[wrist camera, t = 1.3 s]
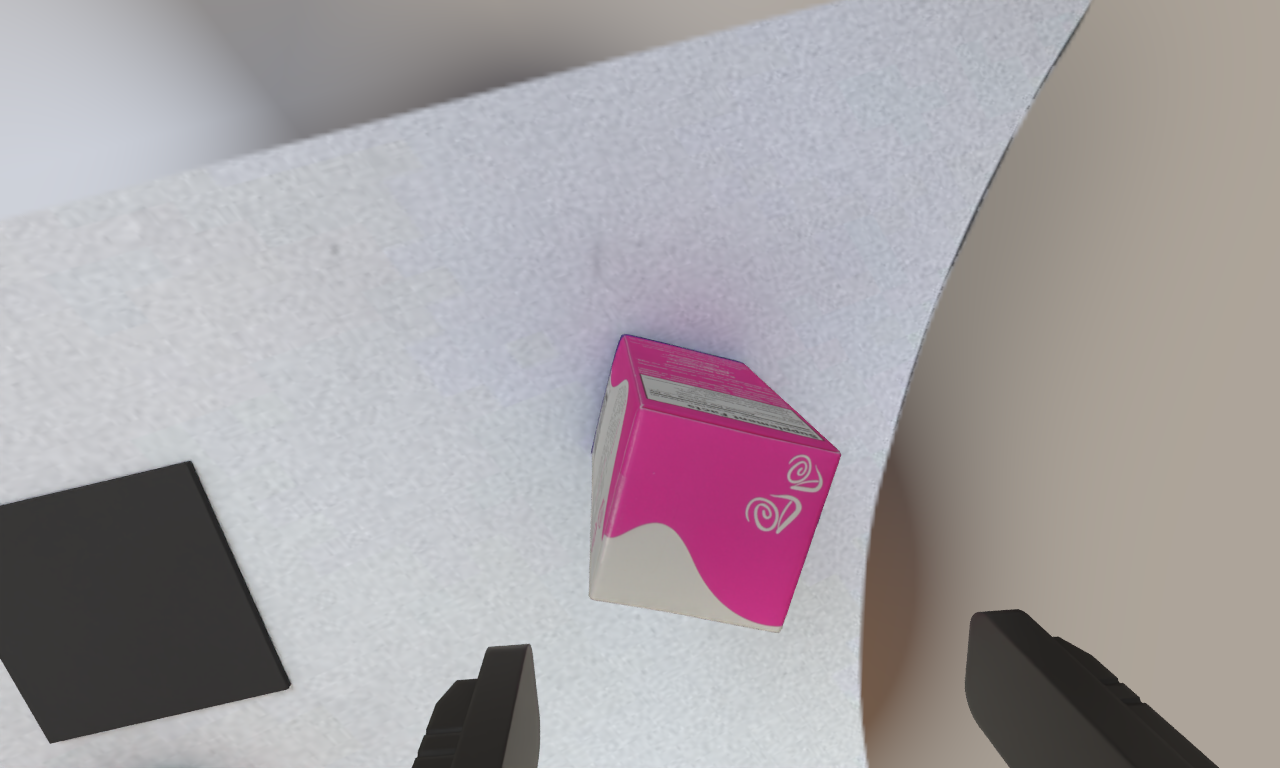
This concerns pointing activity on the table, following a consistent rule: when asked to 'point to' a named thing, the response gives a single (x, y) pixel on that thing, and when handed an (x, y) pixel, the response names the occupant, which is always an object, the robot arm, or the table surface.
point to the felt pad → (126, 606)
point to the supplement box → (701, 488)
